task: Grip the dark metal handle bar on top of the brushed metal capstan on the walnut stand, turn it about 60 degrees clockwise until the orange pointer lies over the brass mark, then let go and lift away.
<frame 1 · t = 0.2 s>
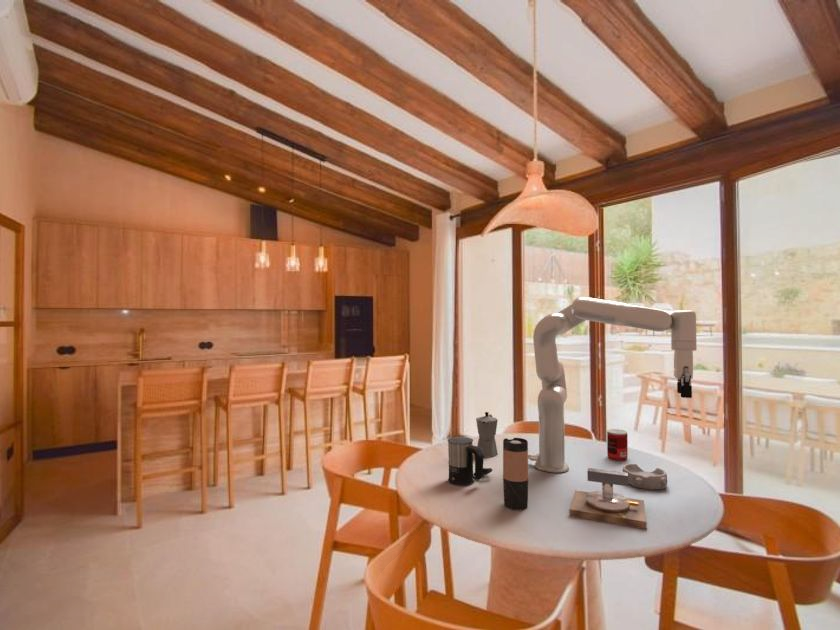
hand: (684, 395, 154), 31 cm above the table, tool pointing down, fingers open, 9 cm apart
canned food: (617, 458, 185), on the table
dish: (644, 484, 156), on the table
capstan: (611, 488, 132), point 7 cm above the table, hinge at 0.0°
coffeepot: (487, 453, 191), on the table
dial stand: (607, 511, 133), on the table
travel mug: (515, 506, 137), on the table
milk frother: (470, 480, 160), on the table
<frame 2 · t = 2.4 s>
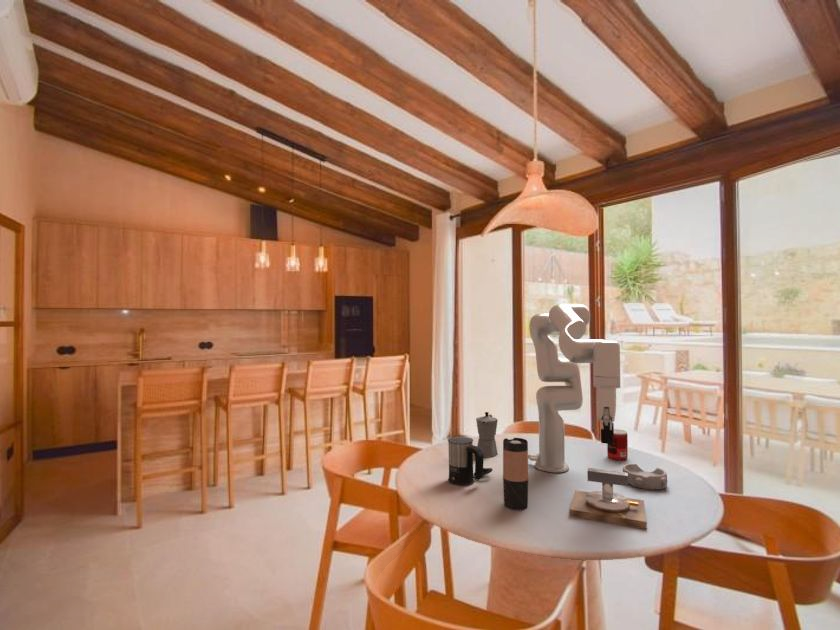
hand: (607, 439, 133), 22 cm above the table, tool pointing down, fingers open, 9 cm apart
nothing on the table moved.
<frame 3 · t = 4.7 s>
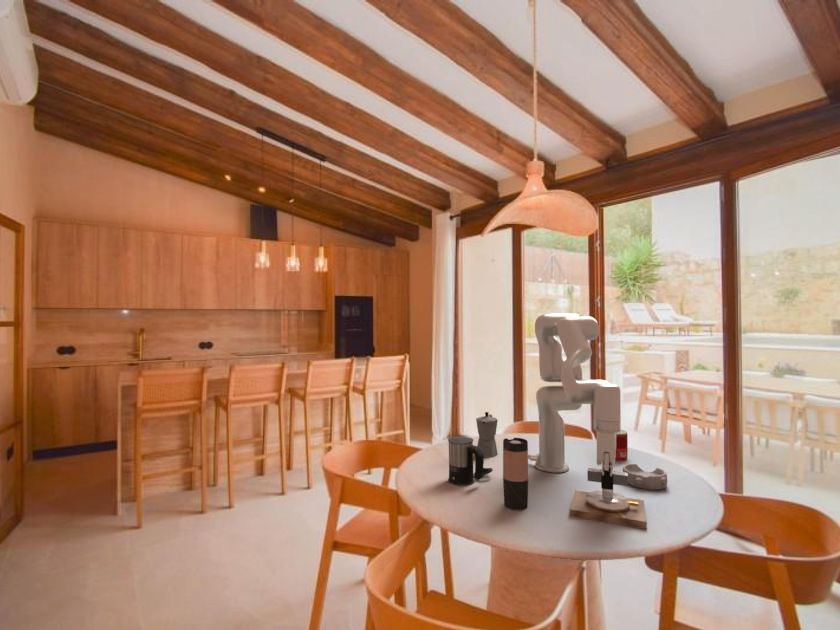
hand: (607, 486, 133), 8 cm above the table, tool pointing down, fingers closed on capstan, 3 cm apart
capstan: (611, 488, 132), point 7 cm above the table, hinge at 0.0°, touching gripper
everything else where it was.
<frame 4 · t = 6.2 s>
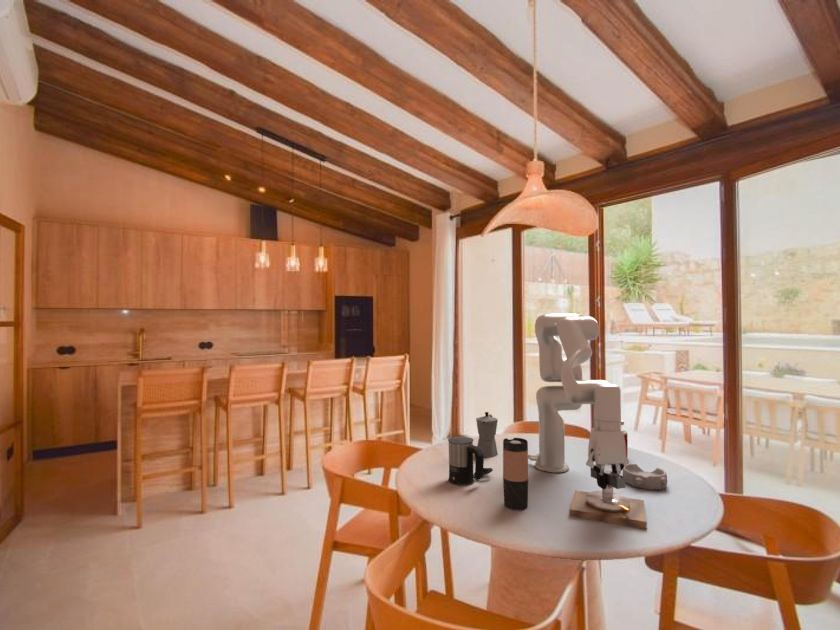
hand: (607, 486, 133), 8 cm above the table, tool pointing down, fingers closed on capstan, 3 cm apart
capstan: (610, 489, 132), point 7 cm above the table, hinge at -46.4°, touching gripper
everything else where it was.
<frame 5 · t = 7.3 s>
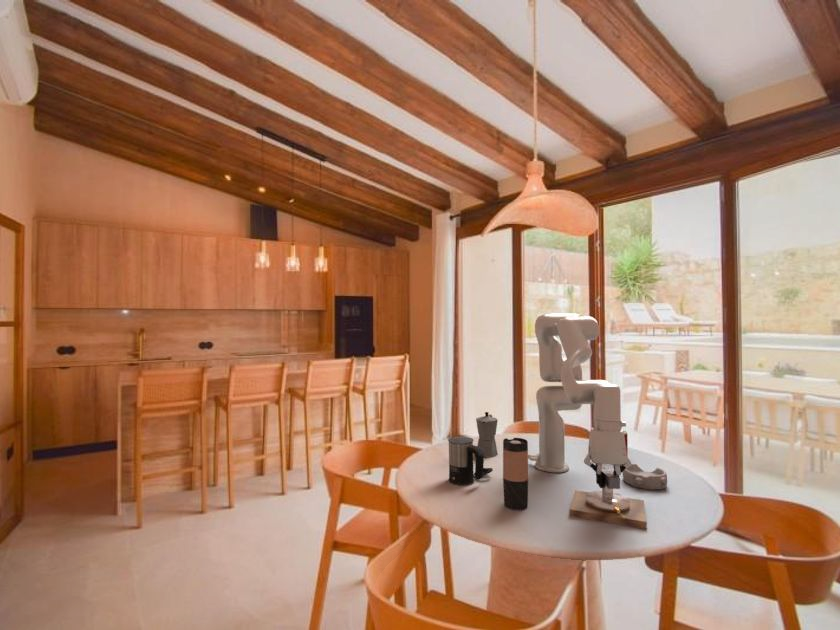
hand: (607, 486, 133), 8 cm above the table, tool pointing down, fingers closed on capstan, 3 cm apart
capstan: (608, 489, 132), point 7 cm above the table, hinge at -67.8°, touching gripper
everything else where it was.
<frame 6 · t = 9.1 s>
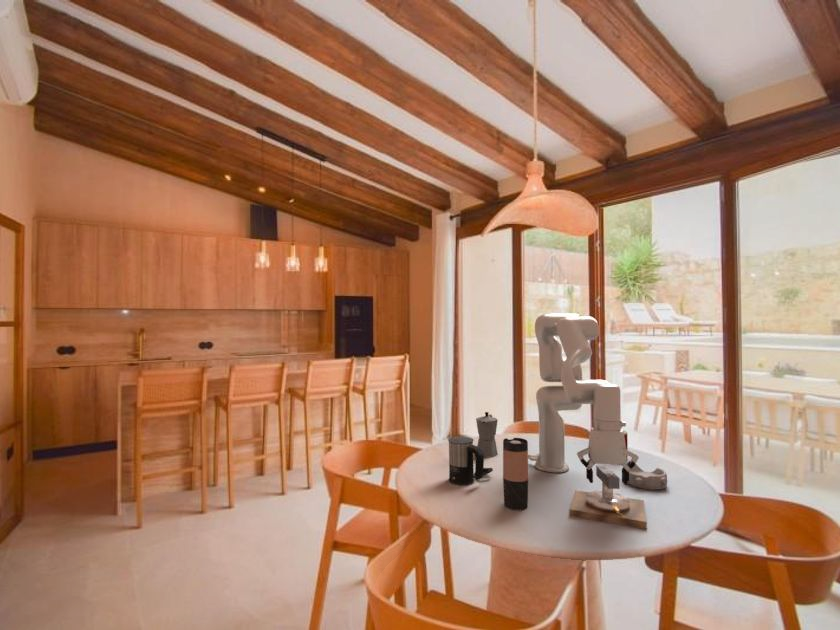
hand: (607, 482, 133), 9 cm above the table, tool pointing down, fingers open, 9 cm apart
capstan: (608, 489, 132), point 7 cm above the table, hinge at -69.3°
everything else where it was.
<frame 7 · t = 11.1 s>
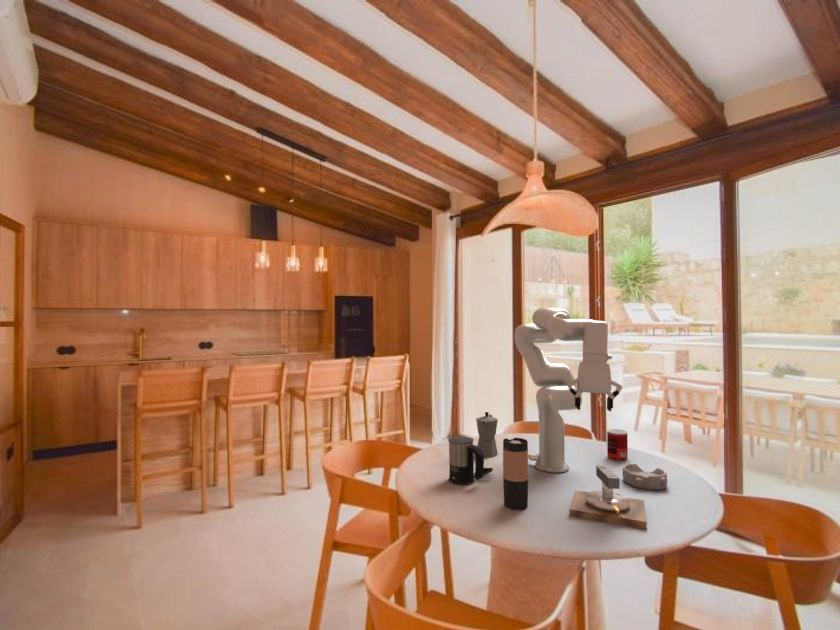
hand: (593, 409, 147), 28 cm above the table, tool pointing down, fingers open, 9 cm apart
nothing on the table moved.
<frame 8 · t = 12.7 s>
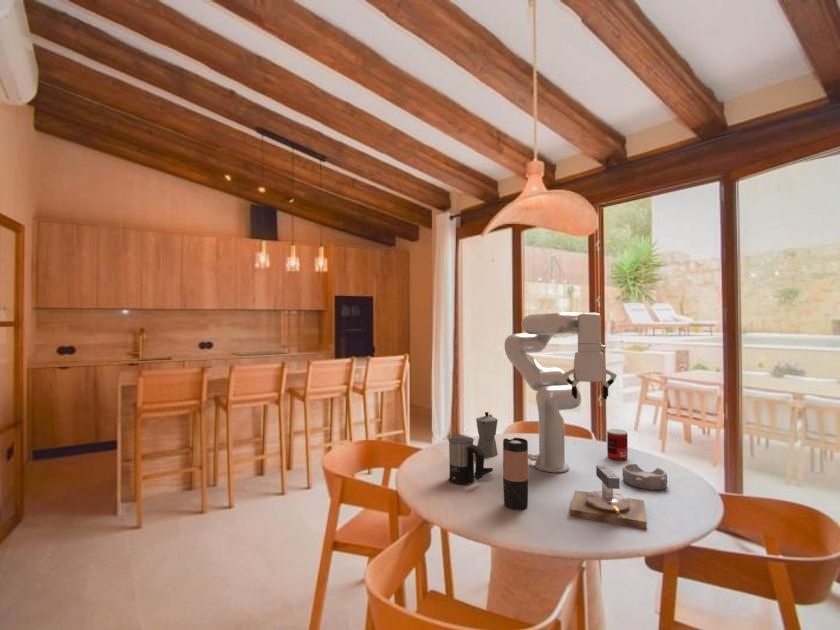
hand: (589, 398, 153), 30 cm above the table, tool pointing down, fingers open, 9 cm apart
nothing on the table moved.
at the end: capstan at -69° (first picture: +0°); the gripper is holding nothing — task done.
